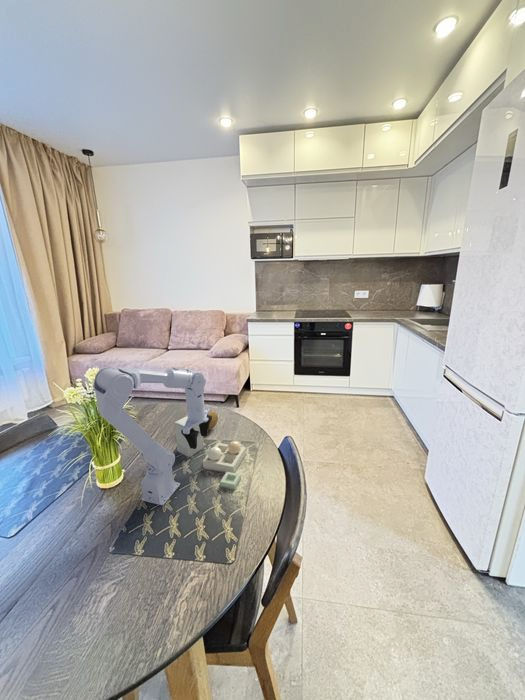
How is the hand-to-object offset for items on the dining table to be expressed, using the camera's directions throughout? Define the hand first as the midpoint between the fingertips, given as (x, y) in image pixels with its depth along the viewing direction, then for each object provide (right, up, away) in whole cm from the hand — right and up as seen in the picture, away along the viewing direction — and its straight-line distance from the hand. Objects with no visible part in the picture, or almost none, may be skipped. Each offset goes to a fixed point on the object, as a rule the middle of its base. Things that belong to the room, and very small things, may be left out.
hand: (199, 441), depth 103 cm
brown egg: (+12, -4, +6) cm, 13 cm away
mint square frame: (+12, -12, -6) cm, 17 cm away
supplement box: (-6, -7, +13) cm, 16 cm away
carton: (+8, -9, +5) cm, 13 cm away
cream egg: (+5, -5, +2) cm, 8 cm away
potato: (-4, -3, +27) cm, 28 cm away
